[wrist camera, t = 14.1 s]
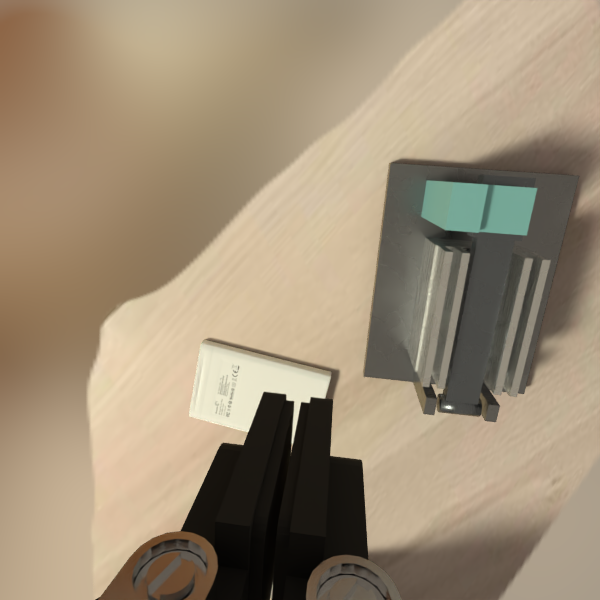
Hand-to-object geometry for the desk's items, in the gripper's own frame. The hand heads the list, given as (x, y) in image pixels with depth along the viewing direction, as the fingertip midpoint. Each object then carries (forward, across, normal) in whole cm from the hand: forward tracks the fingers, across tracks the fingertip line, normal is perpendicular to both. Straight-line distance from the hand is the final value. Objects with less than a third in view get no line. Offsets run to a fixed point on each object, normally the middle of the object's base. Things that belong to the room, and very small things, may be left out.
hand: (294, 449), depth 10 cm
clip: (+26, -9, -5) cm, 28 cm away
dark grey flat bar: (+22, -11, +2) cm, 24 cm away
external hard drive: (+28, +6, +14) cm, 32 cm away
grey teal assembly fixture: (+27, -11, +2) cm, 29 cm away
